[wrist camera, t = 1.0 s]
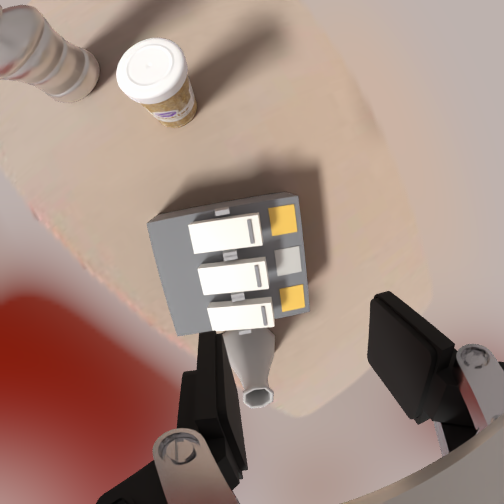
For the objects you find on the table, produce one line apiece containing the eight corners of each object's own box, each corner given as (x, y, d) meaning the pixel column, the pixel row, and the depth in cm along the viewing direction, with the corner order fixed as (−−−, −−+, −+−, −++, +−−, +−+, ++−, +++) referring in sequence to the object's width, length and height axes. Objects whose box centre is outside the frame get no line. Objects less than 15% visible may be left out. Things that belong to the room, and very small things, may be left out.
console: (157, 214, 29) (142, 226, 23) (287, 190, 30) (305, 196, 24) (182, 314, 33) (176, 345, 27) (299, 292, 34) (316, 318, 28)
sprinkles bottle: (162, 134, 27) (122, 109, 14) (151, 97, 26) (108, 52, 13) (203, 119, 27) (193, 82, 14) (191, 82, 26) (175, 26, 13)
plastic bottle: (84, 115, 25) (-42, 77, 6) (49, 94, 23) (-67, 58, 4) (115, 67, 24) (21, -18, 5) (78, 50, 22) (-17, -21, 3)
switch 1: (192, 221, 25) (187, 225, 24) (259, 212, 24) (257, 215, 23) (197, 249, 26) (193, 254, 25) (263, 241, 25) (262, 245, 24)
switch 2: (201, 264, 26) (197, 269, 25) (265, 256, 26) (264, 261, 24) (206, 289, 27) (203, 295, 26) (269, 283, 26) (268, 289, 25)
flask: (266, 312, 34) (283, 361, 25) (282, 355, 36) (300, 407, 27) (210, 330, 34) (210, 384, 25) (231, 372, 36) (236, 426, 27)
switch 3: (209, 302, 28) (206, 309, 26) (271, 296, 27) (271, 303, 25) (215, 324, 28) (212, 332, 27) (274, 320, 27) (274, 327, 26)
